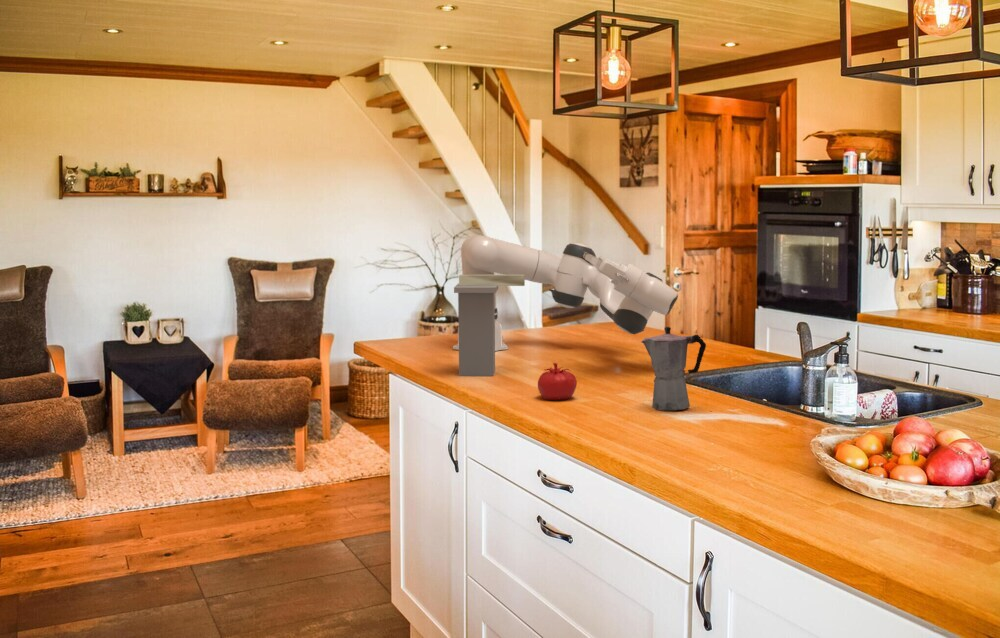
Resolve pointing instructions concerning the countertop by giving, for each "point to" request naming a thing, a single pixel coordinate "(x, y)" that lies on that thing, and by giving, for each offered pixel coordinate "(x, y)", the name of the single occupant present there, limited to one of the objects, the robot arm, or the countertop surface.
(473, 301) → the tall stand
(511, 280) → the beige block
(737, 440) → the countertop surface
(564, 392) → the pomegranate
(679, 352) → the moka pot
